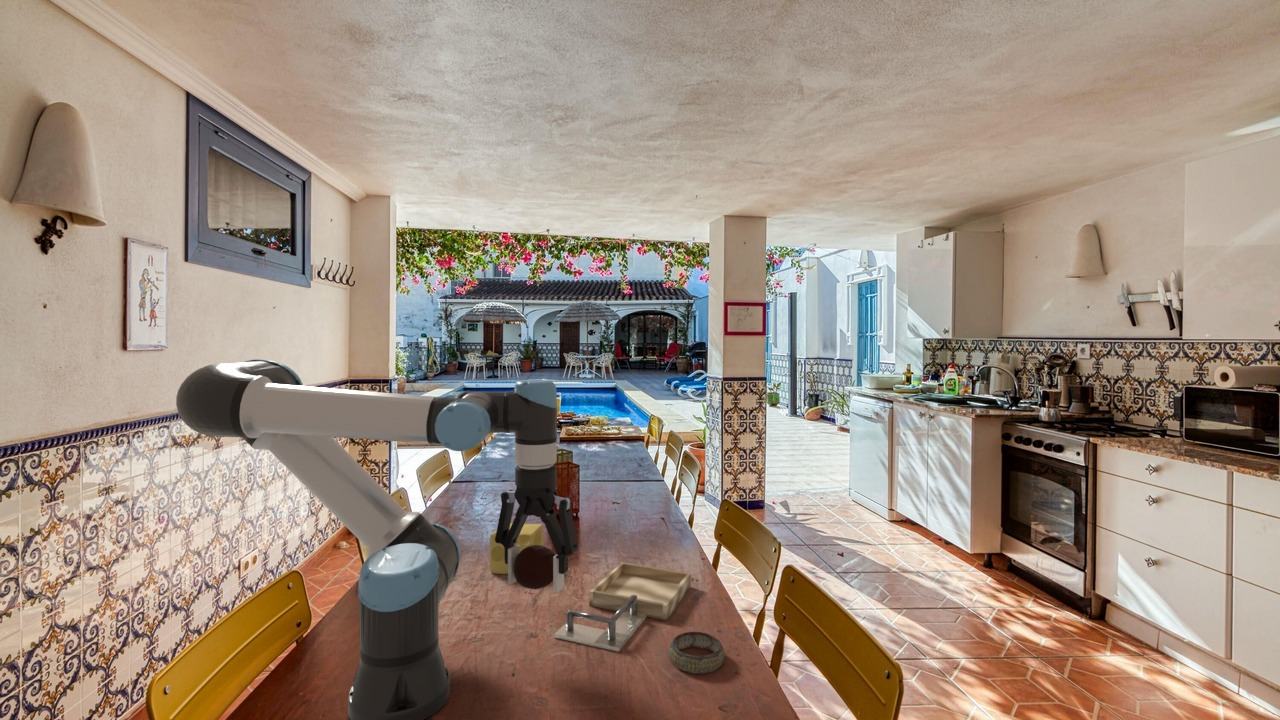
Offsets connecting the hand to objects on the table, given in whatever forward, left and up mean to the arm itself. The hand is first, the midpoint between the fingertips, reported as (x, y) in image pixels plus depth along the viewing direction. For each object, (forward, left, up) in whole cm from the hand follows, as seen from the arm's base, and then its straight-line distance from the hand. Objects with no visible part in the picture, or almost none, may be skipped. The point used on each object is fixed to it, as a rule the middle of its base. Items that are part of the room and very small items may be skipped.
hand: (535, 585), depth 109 cm
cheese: (+32, +25, -13) cm, 42 cm away
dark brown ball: (0, 0, -1) cm, 1 cm away
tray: (+29, -10, -12) cm, 33 cm away
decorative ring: (+9, -29, -13) cm, 32 cm away
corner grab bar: (+13, -8, -12) cm, 20 cm away
